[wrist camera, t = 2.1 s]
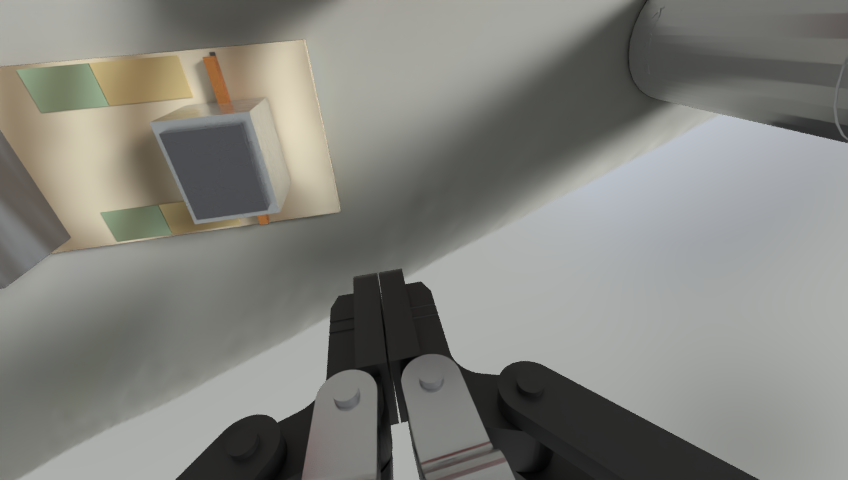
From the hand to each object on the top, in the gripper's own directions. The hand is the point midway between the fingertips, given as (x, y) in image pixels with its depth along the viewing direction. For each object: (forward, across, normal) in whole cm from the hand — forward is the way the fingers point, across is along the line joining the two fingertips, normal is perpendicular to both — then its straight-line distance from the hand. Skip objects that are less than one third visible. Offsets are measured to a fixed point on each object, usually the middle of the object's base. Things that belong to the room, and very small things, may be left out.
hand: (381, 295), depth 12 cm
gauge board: (+19, +14, -1) cm, 23 cm away
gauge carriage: (+17, +8, -1) cm, 19 cm away
